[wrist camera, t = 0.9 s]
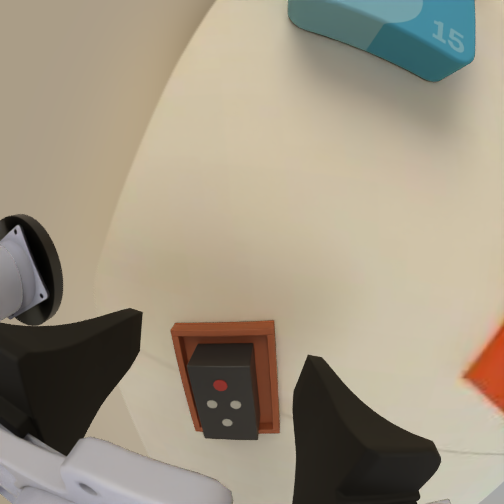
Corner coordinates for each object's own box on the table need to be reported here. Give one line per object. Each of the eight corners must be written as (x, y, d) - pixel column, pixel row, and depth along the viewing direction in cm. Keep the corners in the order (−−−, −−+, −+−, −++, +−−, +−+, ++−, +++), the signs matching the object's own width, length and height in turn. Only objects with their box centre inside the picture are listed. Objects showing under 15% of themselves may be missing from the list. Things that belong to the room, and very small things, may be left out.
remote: (260, 414, 22) (257, 441, 19) (211, 413, 22) (204, 439, 19) (253, 342, 20) (249, 366, 17) (197, 343, 20) (185, 366, 17)
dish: (279, 423, 22) (279, 433, 21) (198, 422, 23) (195, 431, 22) (274, 320, 20) (273, 328, 19) (175, 322, 21) (170, 330, 19)
